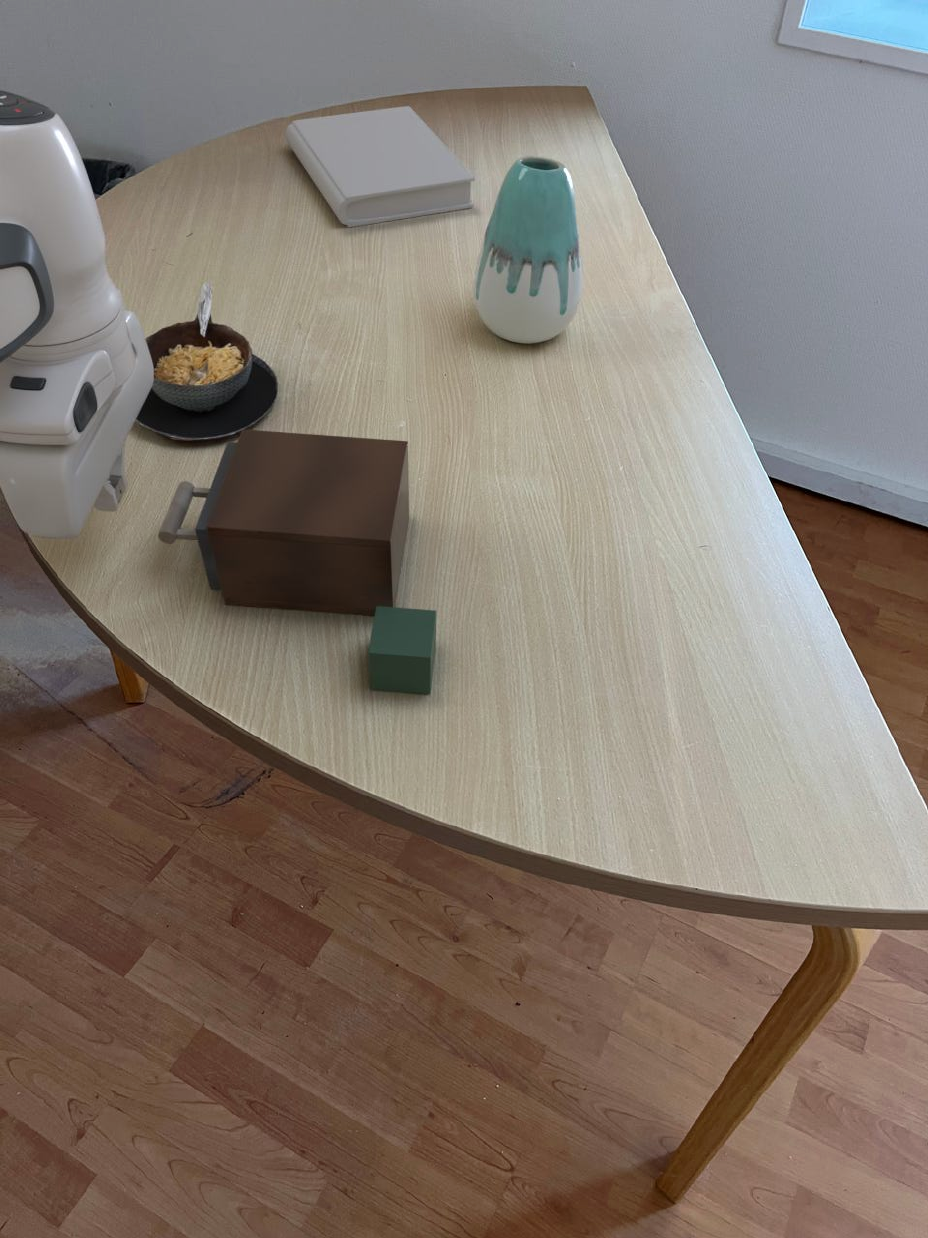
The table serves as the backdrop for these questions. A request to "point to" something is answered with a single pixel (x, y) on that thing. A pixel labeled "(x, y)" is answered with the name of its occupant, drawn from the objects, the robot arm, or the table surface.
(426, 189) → the book
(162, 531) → the drawer
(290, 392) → the table surface
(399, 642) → the block
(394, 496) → the cabinet
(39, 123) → the robot arm
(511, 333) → the vase
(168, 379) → the soup bowl
